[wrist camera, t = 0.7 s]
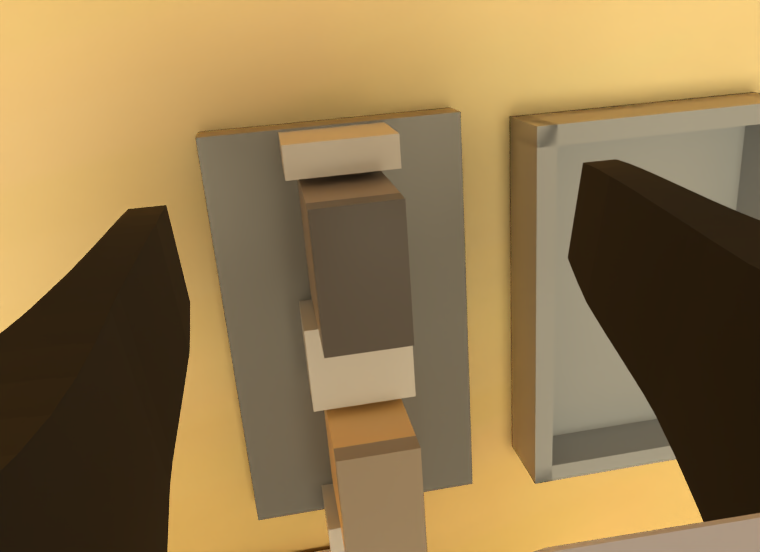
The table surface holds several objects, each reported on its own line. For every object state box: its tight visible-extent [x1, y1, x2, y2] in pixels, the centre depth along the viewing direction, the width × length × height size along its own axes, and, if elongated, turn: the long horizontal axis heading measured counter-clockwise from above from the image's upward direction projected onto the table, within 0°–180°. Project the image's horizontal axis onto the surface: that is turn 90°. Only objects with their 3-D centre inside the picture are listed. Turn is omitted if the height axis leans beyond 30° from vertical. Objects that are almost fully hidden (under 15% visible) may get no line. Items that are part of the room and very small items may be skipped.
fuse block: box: [196, 108, 472, 552], centre depth 29 cm, size 10×17×4 cm, turn 4°
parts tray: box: [510, 92, 760, 484], centre depth 31 cm, size 16×11×3 cm
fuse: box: [324, 399, 427, 552], centre depth 28 cm, size 5×3×6 cm, turn 4°
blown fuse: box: [297, 171, 414, 358], centre depth 25 cm, size 5×3×6 cm, turn 4°
